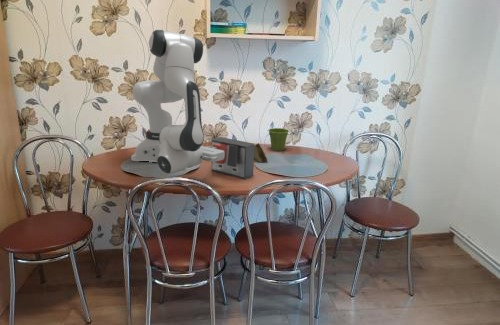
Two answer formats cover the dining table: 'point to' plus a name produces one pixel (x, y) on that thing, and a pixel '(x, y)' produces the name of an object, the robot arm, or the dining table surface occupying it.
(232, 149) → the rocker black
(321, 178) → the dining table surface
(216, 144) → the rocker red
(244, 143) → the rocker switch panel
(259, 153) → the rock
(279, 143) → the plant pot
